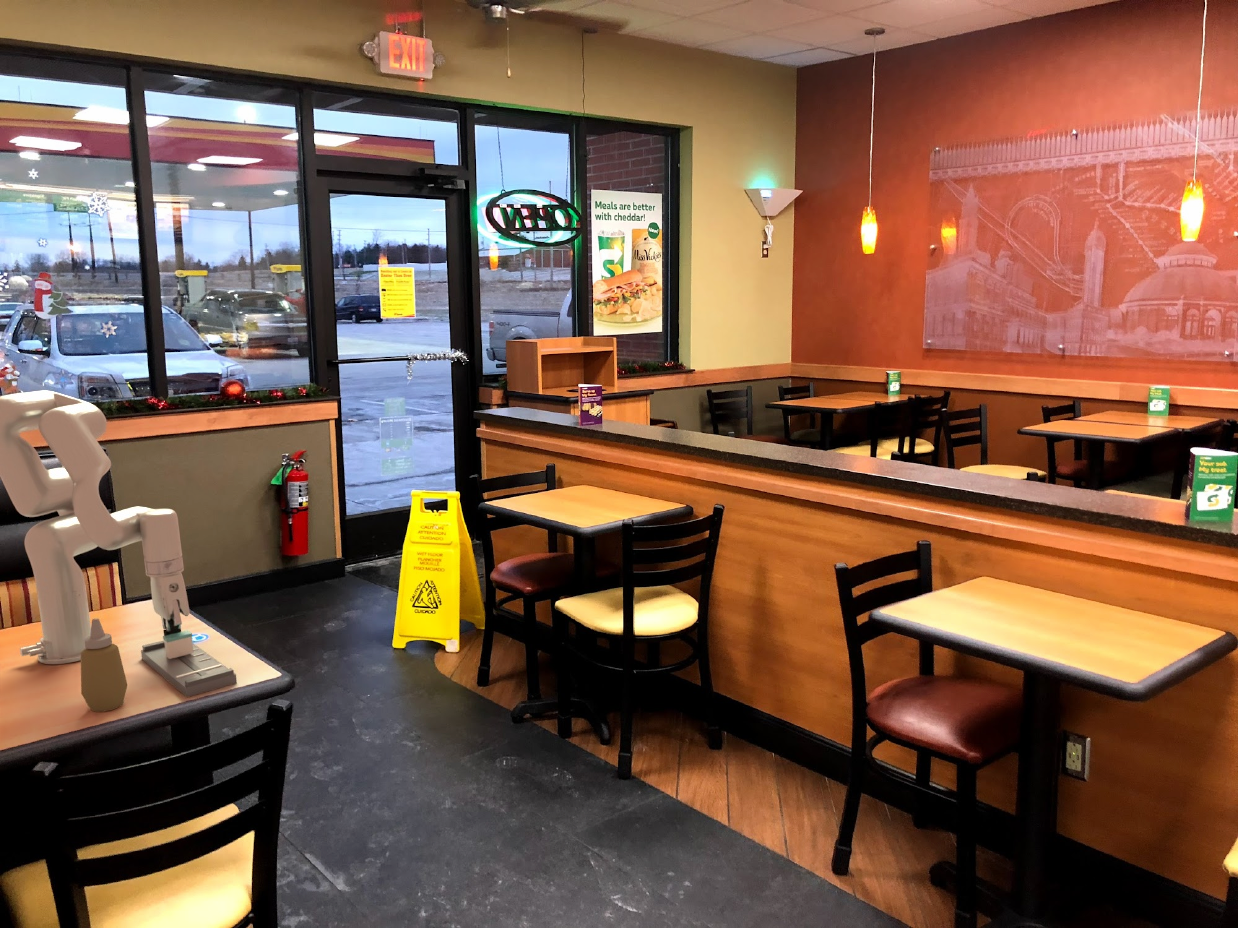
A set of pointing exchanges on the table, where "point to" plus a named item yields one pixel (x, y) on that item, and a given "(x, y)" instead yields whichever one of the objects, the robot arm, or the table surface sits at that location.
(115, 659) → the squeeze bottle
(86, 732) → the table surface
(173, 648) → the fader knob
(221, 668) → the console board
